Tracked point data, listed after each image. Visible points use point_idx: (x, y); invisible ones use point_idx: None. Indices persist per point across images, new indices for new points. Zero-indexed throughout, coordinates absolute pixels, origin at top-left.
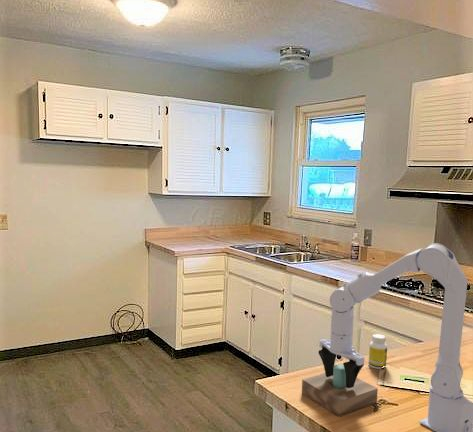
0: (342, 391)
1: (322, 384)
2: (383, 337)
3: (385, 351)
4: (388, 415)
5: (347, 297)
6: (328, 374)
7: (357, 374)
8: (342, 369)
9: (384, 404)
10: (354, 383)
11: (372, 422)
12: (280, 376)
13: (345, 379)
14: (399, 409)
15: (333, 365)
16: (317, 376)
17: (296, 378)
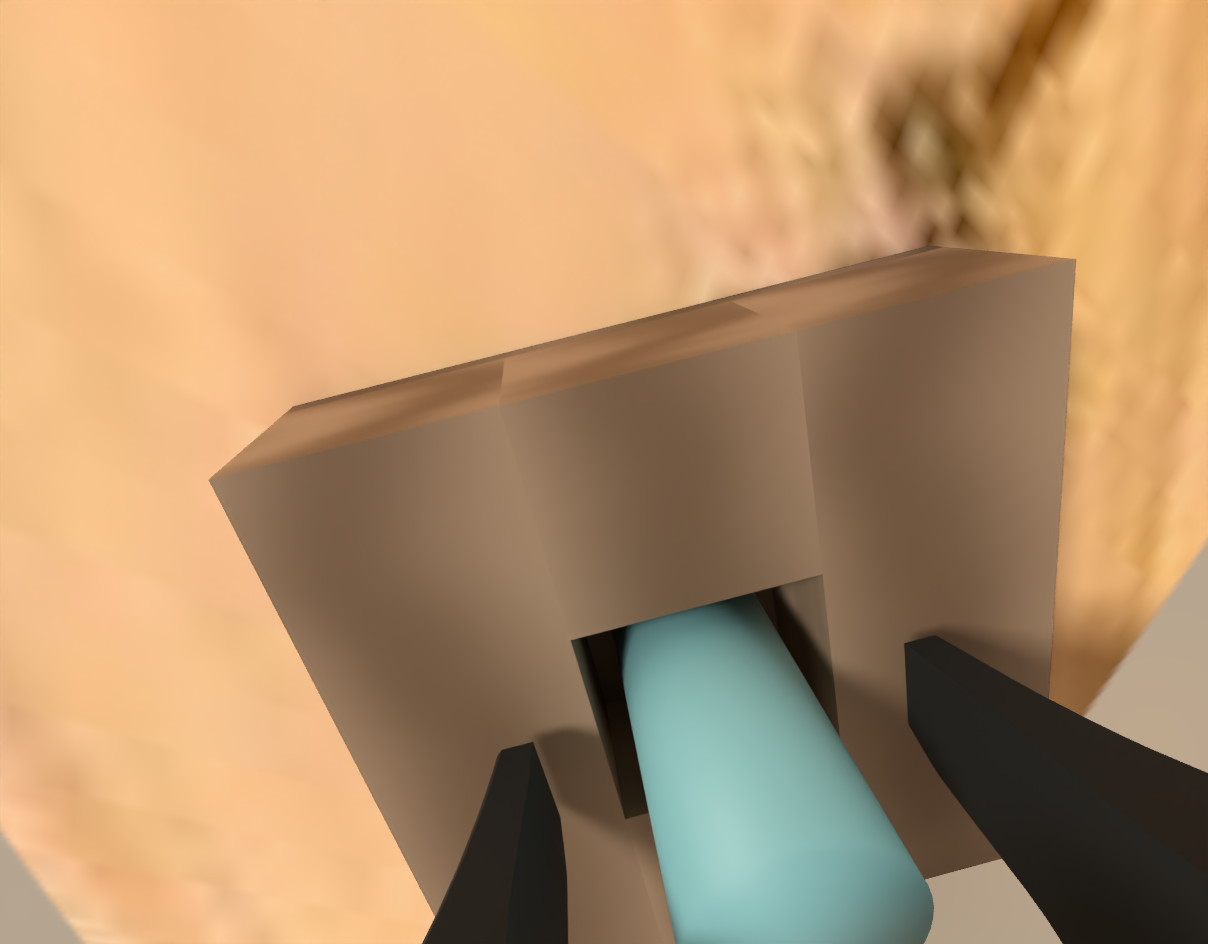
0: (891, 746)
1: (660, 872)
2: None
3: None
4: (1168, 294)
5: None
6: (556, 835)
7: (1148, 759)
8: (893, 933)
9: (996, 169)
10: (975, 659)
11: (1147, 520)
12: (81, 915)
13: (837, 734)
14: (1172, 56)
15: (522, 883)
16: (440, 857)
17: (140, 803)
